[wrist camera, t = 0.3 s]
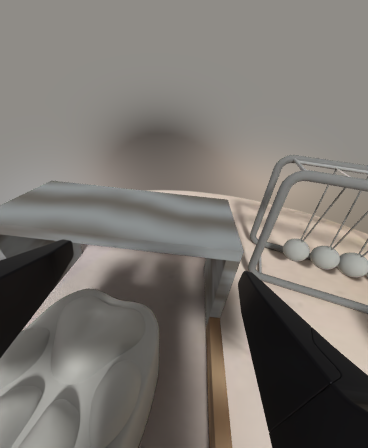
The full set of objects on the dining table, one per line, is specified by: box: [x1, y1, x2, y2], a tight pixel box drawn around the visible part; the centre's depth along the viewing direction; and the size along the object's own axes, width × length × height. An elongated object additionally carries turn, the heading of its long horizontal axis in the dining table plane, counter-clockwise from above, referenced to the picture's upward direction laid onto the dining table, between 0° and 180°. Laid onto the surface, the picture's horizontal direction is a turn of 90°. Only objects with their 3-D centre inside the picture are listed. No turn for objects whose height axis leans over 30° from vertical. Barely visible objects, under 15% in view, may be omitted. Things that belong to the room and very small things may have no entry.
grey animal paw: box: [0, 289, 159, 448], centre depth 13 cm, size 10×13×9 cm
